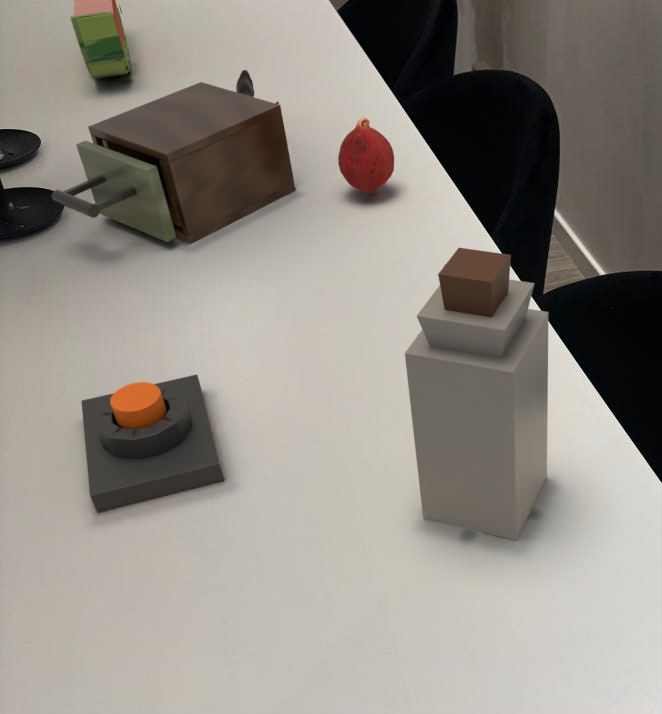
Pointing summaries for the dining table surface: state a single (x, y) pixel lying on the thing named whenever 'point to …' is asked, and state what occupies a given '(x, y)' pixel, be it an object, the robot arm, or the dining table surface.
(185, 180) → the drawer cabinet
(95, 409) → the block
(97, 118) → the dining table surface
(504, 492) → the perfume bottle
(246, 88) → the eagle figurine
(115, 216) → the wooden drawer
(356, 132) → the pomegranate
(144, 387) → the button
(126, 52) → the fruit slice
